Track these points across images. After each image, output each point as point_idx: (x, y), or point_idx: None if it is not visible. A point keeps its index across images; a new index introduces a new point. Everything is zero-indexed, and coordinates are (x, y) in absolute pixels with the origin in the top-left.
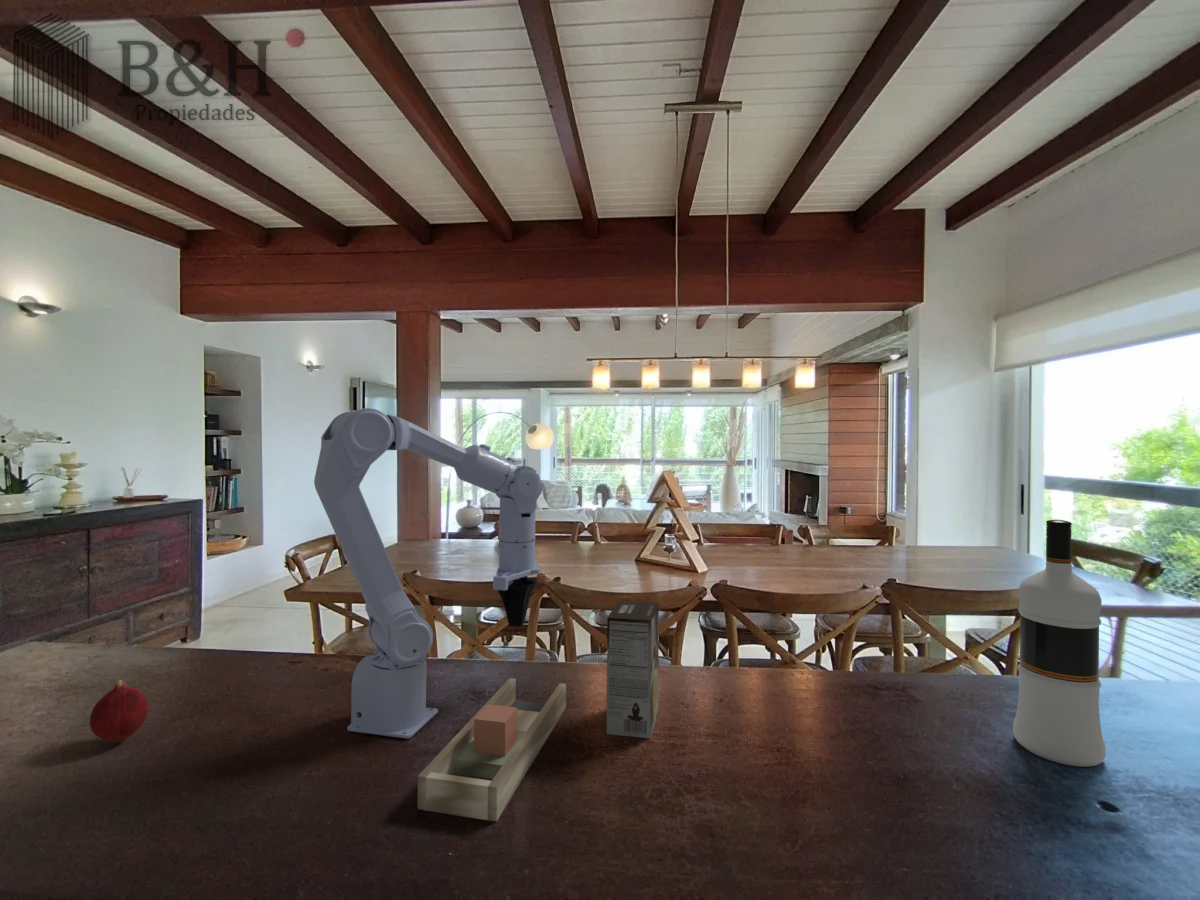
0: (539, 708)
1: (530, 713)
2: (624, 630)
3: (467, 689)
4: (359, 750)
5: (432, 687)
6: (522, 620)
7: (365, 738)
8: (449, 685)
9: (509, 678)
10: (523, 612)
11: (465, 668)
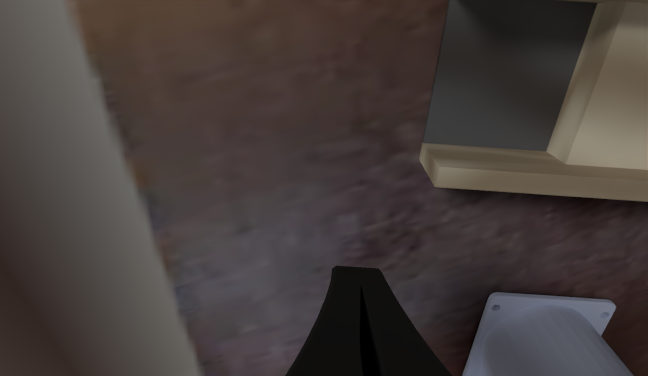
0: (475, 57)
1: (620, 58)
2: None
3: None
4: (634, 353)
5: None
6: (384, 284)
7: None
8: None
9: (437, 186)
10: (401, 318)
11: (237, 315)
